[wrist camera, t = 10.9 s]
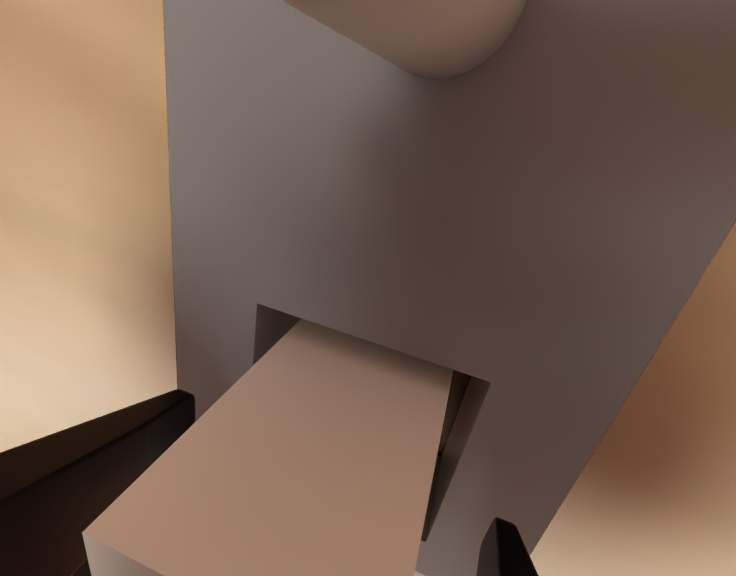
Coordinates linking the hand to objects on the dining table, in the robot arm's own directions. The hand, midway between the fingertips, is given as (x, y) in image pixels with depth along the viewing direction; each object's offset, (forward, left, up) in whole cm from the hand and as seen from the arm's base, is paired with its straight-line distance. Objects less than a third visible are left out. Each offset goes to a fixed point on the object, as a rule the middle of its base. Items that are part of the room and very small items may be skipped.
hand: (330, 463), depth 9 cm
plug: (0, 0, -4) cm, 4 cm away
